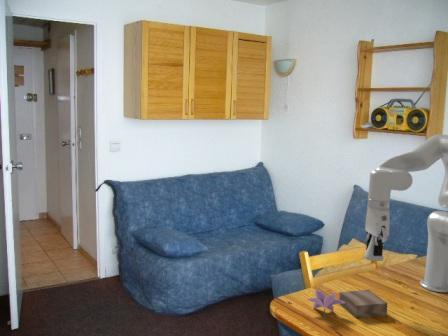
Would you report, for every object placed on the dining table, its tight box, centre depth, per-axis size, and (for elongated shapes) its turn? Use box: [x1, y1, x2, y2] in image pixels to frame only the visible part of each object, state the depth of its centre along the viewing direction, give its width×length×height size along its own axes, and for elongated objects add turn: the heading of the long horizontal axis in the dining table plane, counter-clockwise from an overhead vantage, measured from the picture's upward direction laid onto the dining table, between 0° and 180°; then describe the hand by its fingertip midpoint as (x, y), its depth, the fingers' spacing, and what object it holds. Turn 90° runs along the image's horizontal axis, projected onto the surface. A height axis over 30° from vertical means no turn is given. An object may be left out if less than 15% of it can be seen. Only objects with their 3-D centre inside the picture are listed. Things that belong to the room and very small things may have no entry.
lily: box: [306, 289, 345, 320], centre depth 164 cm, size 12×12×10 cm
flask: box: [363, 235, 385, 262], centre depth 170 cm, size 7×7×10 cm
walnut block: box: [338, 289, 389, 320], centre depth 169 cm, size 12×12×5 cm
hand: (373, 252), depth 171 cm, fingers closed on flask, 4 cm apart
